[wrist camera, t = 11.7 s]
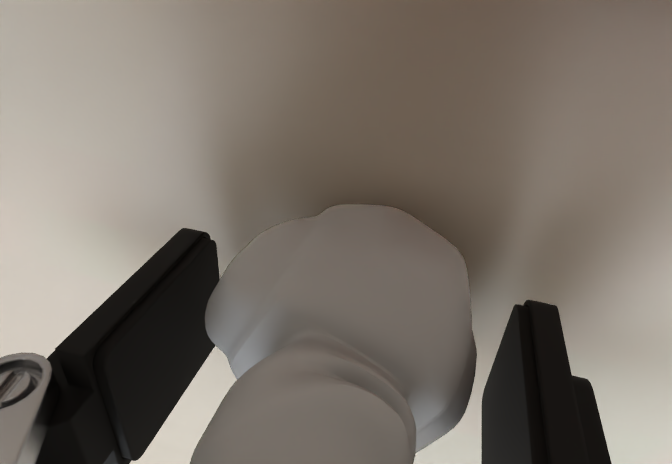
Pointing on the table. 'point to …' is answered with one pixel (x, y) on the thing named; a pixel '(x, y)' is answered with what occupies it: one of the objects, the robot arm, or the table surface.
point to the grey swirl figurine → (341, 342)
